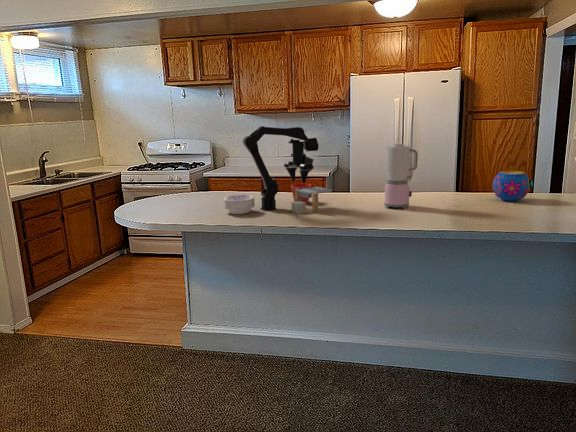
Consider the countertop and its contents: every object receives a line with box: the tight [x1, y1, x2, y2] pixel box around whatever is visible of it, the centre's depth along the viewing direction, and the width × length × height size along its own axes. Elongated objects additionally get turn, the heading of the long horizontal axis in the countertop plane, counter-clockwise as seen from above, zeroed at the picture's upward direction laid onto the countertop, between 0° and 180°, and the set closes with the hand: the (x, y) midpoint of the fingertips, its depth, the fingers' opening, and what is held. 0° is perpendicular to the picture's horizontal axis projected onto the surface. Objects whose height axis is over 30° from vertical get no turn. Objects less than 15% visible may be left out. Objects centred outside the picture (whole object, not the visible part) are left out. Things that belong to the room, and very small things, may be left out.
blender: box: [383, 142, 419, 210], centre depth 221 cm, size 16×12×32 cm
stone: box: [291, 201, 307, 215], centre depth 219 cm, size 5×5×5 cm
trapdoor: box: [298, 186, 333, 199], centre depth 224 cm, size 13×12×3 cm
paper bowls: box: [223, 194, 256, 215], centre depth 222 cm, size 15×15×8 cm
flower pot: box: [290, 183, 312, 204], centre depth 242 cm, size 11×11×10 cm
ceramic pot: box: [492, 170, 534, 202], centre depth 231 cm, size 18×18×15 cm
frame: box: [295, 188, 319, 214], centre depth 223 cm, size 2×17×10 cm, turn 34°
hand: (298, 182), depth 230 cm, fingers open, 9 cm apart
